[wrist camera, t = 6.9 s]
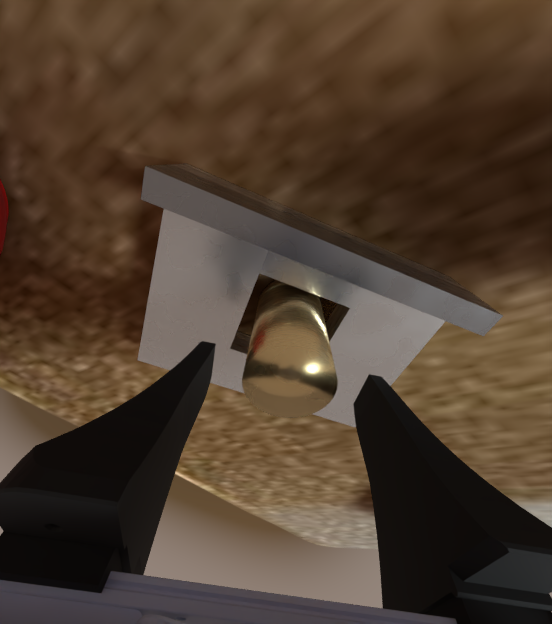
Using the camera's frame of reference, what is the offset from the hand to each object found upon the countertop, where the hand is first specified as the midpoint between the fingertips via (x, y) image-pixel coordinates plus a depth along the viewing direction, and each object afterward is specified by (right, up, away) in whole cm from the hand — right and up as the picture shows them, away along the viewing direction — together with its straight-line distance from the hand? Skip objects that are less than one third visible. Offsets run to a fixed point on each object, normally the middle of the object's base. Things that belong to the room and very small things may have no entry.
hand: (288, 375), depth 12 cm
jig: (0, +3, +5) cm, 6 cm away
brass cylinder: (0, +3, +5) cm, 6 cm away
